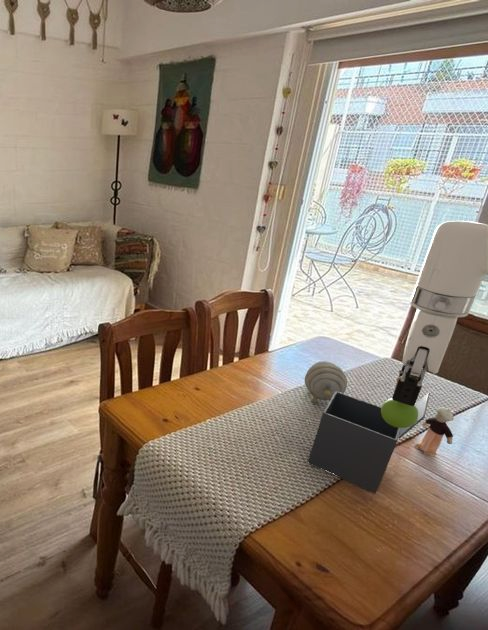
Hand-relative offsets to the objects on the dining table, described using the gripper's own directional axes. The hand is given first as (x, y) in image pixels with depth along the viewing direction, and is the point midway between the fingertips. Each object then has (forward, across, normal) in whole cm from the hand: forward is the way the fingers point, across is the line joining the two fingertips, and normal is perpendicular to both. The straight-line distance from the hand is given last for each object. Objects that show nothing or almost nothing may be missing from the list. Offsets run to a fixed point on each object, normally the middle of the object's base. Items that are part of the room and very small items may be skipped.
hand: (405, 393), depth 78 cm
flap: (+11, +15, -3) cm, 19 cm away
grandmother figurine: (+30, +34, -9) cm, 46 cm away
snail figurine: (+7, 0, 0) cm, 7 cm away
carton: (+29, +15, +5) cm, 33 cm away
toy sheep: (+29, +41, +16) cm, 53 cm away
